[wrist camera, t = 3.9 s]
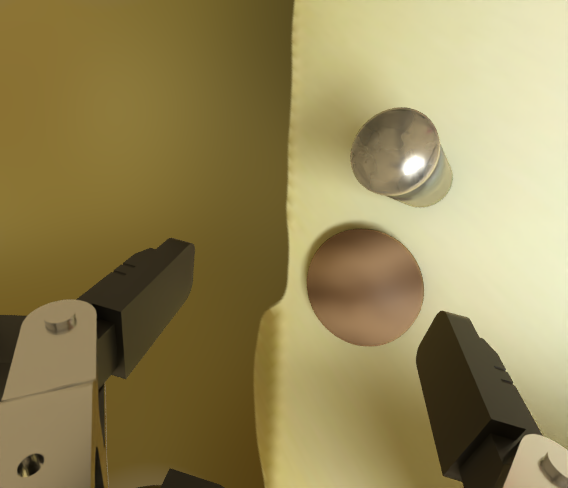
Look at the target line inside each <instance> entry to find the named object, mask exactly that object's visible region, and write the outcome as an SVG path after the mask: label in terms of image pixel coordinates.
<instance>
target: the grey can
mask: <svg viewBox="0 0 568 488" xmlns="http://www.w3.org/2000/svg"><path fill="white" fill-rule="evenodd" d="M351 166H352V170H353V173H354V175H355V177H356V178H357V180H358V181H359V182H360V184H362V185H363V186H364V187H365V188H367V189H368V190H370V191H372V192H374V193H377V194H380V195H385V196H388V197H390V198H393V199H395V200H397V201H400V202H402V203H405V204H407V205H409V206H412V207H428V206H431V205H434V204H436V203H437V202H439V201H440V200H442V199H443V198H444V197H445V196H446V194H447V193H448V191H449V190H450V188H451V185H452V180H453V174H452V170H451V167H450V165H449V162H448V160H447V158H446V156H445V153H444V151H443V149H442V146H441V144H440V139H439V136H438V133H437V130H436V128H435V126H434V124H433V123H432V122H431V120H430V119H429V118H428V117H427V116H425V115H424V114H423V113H421V112H419V111H417V110H414V109H410V108H392V109H388V110H385V111H383V112H381V113H379V114H377V115H375V116H374V117H372V118H371V119H370V120H368V121H367V122H366V123H365V124H364V125H363V127H362V128H361V129H360V130H359V132H358V134H357V135H356V137H355V139H354V142H353V145H352V149H351Z"/></svg>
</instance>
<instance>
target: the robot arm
mask: <svg viewBox="0 0 568 488" xmlns="http://www.w3.org/2000/svg"><path fill="white" fill-rule="evenodd" d="M194 254H195V247H194V244H192V243H188V242H185V241H181V240H177V239H174V238H169V239H167V240H166V241H165V242H164V243H163V244H162V245H160V246H159V247H158V248H157V249H153V248H149V249H146V250H144V251H141V252H138V253H136V254H134V255H133V256H131V257H130V258H129V259H128V260H126V261H125V262H124V263H123V265H120V266H119V267H117V268H116V269H115V270H114V272H111V273H110V274H109V275H107V276H106V277H105V278H103V279H102V280H101V281H99V282H98V283H97V284H96V285H94V286H93V287H92V288H91V289H89V290H88V291H87V292H85V293H84V294H83V295H82V296H80V297H79V298H78V299H76V300H62V301H56V302H52V303H49V304H46V305H44V306H41V307H39V308H38V309H36V310H34V311H33V312H32V313H30V314H29V315H28V316H17V315H16V316H15V315H0V488H109V486H108V472H107V447H106V390H105V381H106V380H107V379H108V378H109V376H110V375H114V376H117V377H121V378H124V379H126V378H127V377H128V376H129V374H130V373H131V372H132V370H133V369H134V368H135V366H136V365H137V364H138V362H139V361H140V360H141V359H142V357H143V356H144V355H145V353H146V352H147V351H148V349H149V348H150V347H151V346H152V344H153V343H154V342H155V340H156V339H157V338H158V336H159V335H160V334H161V332H162V331H163V329H164V328H165V327H166V326H167V325H168V323H169V322H170V321H171V319H172V318H173V317H174V315H175V314H176V313H177V311H178V310H179V309H180V307H181V306H182V305H183V304H184V302H185V301H186V299H187V298H188V296H189V293H190V291H191V287H192V282H193V267H194ZM416 365H417V369H418V374H419V378H420V382H421V386H422V390H423V394H424V399H425V403H426V407H427V411H428V415H429V419H430V424H431V428H432V432H433V436H434V440H435V444H436V449H437V453H438V457H439V461H440V465H441V469H442V474H443V476H445V477H448V478H452V479H455V480H458V481H461V482H463V486H464V488H568V450H567V449H566V448H564V447H563V446H561V445H560V444H558V443H557V442H555V441H553V440H551V439H549V438H547V437H544V436H542V434H541V432H540V430H539V428H538V427H537V425H536V423H535V421H534V419H533V418H532V416H531V414H530V412H529V410H528V408H527V407H526V405H525V403H524V401H523V399H522V398H521V396H520V394H519V392H518V390H517V389H516V387H515V386H514V385H513V381H512V379H511V378H510V376H509V374H508V372H505V370H506V369H505V367H504V365H503V363H502V361H501V360H500V358H499V356H498V354H497V353H496V352H495V351H494V350H493V349H492V348H491V347H490V346H489V344H488V343H487V342H486V341H485V340H484V339H482V338H479V336H478V334H477V332H476V330H475V328H474V326H473V324H472V322H471V321H470V319H469V318H467V317H464V316H460V315H456V314H453V313H449V312H445V311H440V312H439V313H438V314H437V315H436V317H435V318H434V320H433V322H432V324H431V326H430V327H429V329H428V331H427V333H426V334H425V336H424V338H423V340H422V342H421V343H420V345H419V348H418V351H417V356H416ZM138 488H224V487H222V486H221V485H219V484H216V483H213V482H210V481H207V480H204V479H201V478H198V477H195V476H191V475H189V474H186V473H182V472H179V471H176V470H173V469H169V471H168V473H167V475H166V477H165V480H164V482H163V484H162V485H150V486H143V487H138Z"/></svg>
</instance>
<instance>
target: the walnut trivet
mask: <svg viewBox="0 0 568 488" xmlns="http://www.w3.org/2000/svg"><path fill="white" fill-rule="evenodd" d="M307 290H308V296H309V300H310V303H311V306H312V308H313V310H314V312H315V314H316V316H317V317H318V319H319V320H320V321H321V323H322V324H323V325H324V326H325V327H326V328H327V329H328V330H329V331H330V332H331V333H333V334H334V335H335V336H337V337H339V338H340V339H342V340H344V341H346V342H349V343H352V344H355V345H360V346H379V345H383V344H386V343H389V342H391V341H394V340H395V339H397V338H399V337H400V336H401V335H402V334H404V333H405V332H406V331H407V330H408V329H409V328H410V326H411V325H412V324H413V323H414V321H415V319H416V318H417V316H418V314H419V312H420V310H421V306H422V303H423V296H424V284H423V278H422V274H421V271H420V268H419V266H418V264H417V262H416V260H415V258H414V257H413V255H412V254H411V253H410V252H409V250H408V249H407V248H406V247H405V246H404V245H403V244H402V243H400V242H399V241H398V240H396V239H395V238H393V237H391V236H389V235H388V234H385V233H382V232H379V231H375V230H369V229H353V230H347V231H344V232H341V233H338V234H336V235H334V236H332V237H331V238H329V239H328V240H327V241H326V242H324V243H323V244H322V245H321V247H320V248H319V249H318V250H317V252H316V253H315V255H314V257H313V259H312V261H311V263H310V266H309V270H308V276H307Z"/></svg>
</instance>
